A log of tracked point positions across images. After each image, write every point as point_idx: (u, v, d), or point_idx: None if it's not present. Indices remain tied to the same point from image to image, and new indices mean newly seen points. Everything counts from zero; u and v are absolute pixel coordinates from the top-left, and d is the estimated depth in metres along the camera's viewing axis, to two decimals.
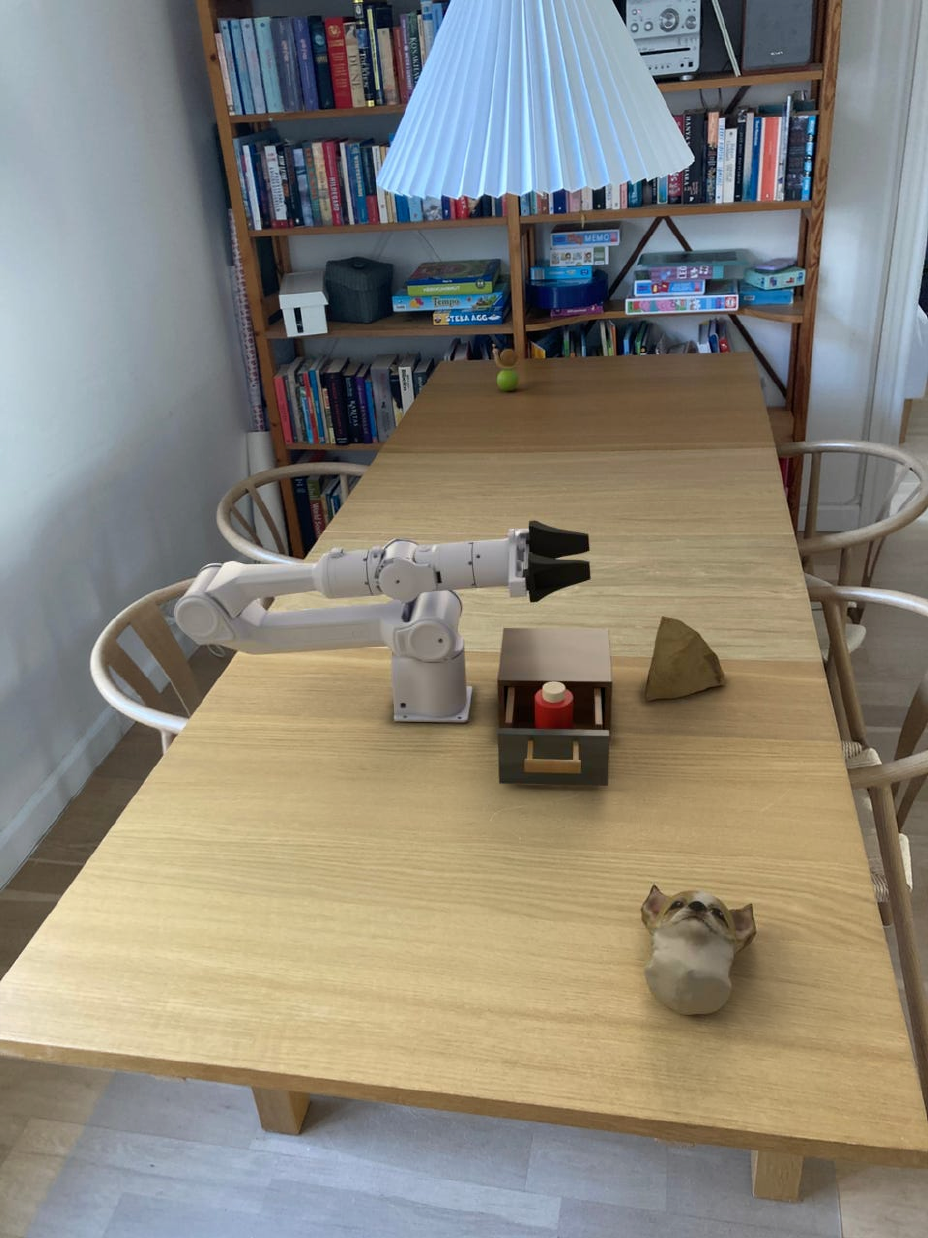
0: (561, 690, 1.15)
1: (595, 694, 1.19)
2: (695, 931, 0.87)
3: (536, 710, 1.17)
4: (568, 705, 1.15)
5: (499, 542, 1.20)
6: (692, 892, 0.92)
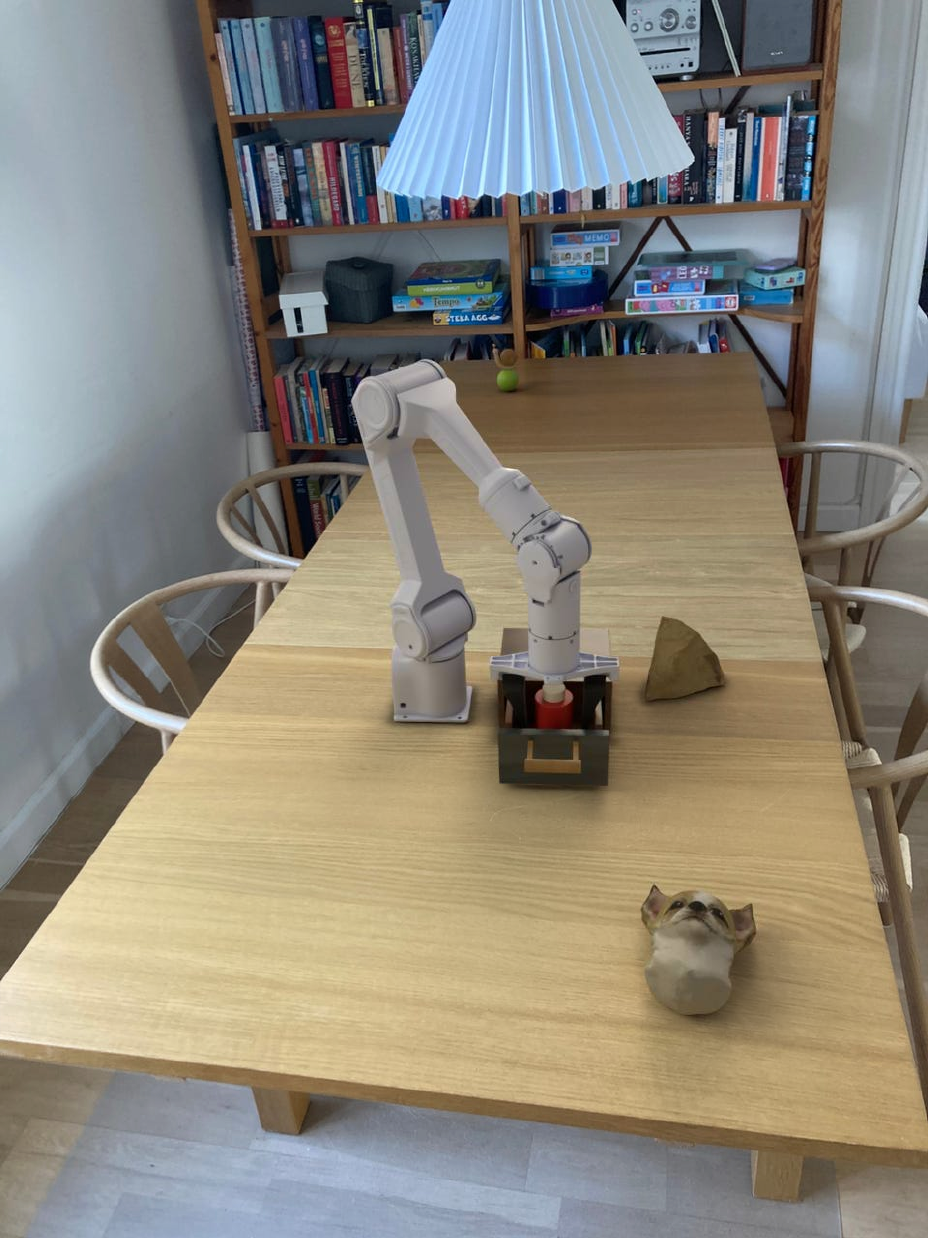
0: (561, 690, 1.15)
1: None
2: (695, 931, 0.87)
3: (536, 710, 1.17)
4: (568, 705, 1.15)
5: (549, 664, 1.11)
6: (692, 892, 0.92)
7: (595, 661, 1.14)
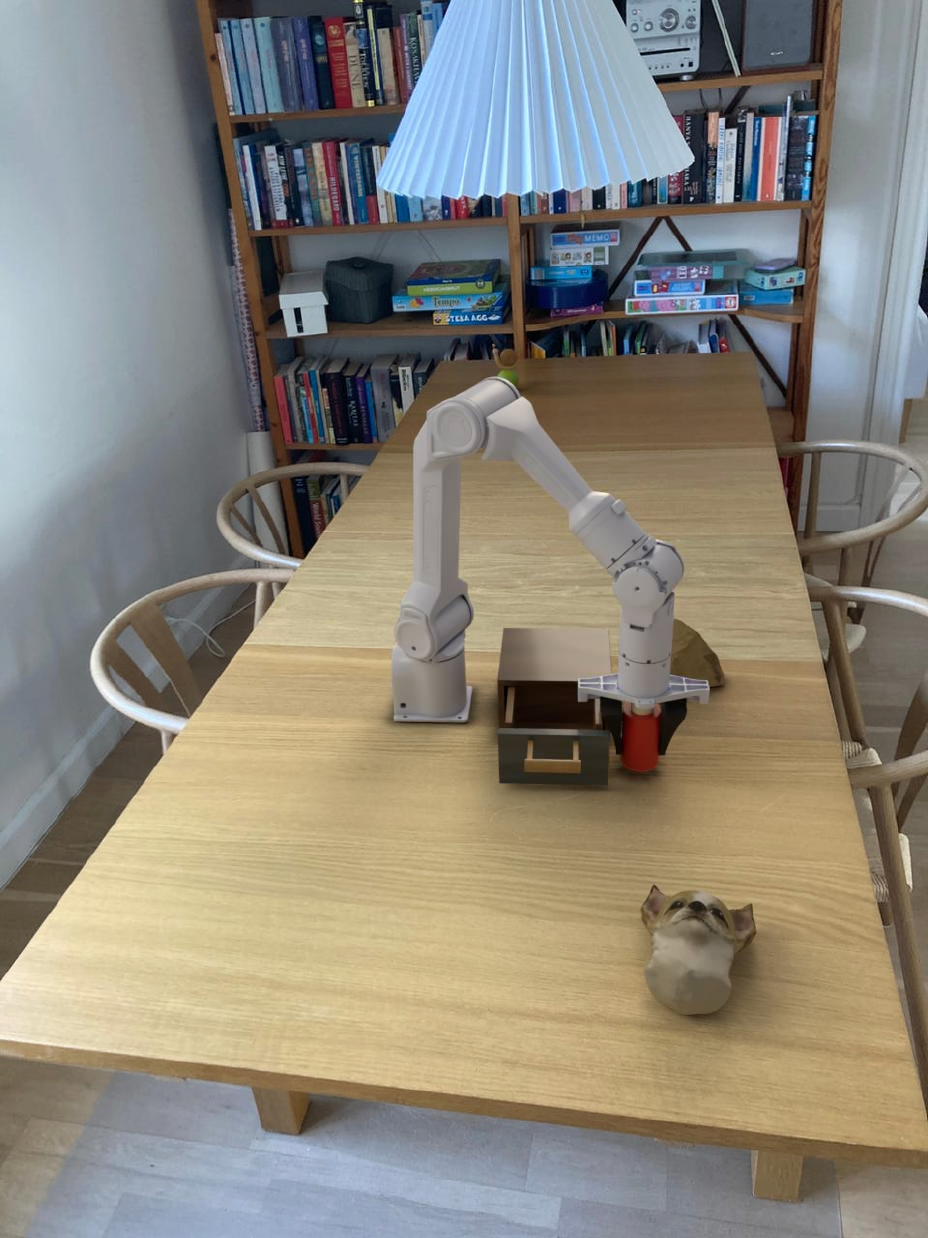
0: None
1: None
2: (695, 931, 0.87)
3: (624, 722, 1.15)
4: (657, 718, 1.14)
5: (641, 688, 1.11)
6: (692, 892, 0.92)
7: (685, 684, 1.13)
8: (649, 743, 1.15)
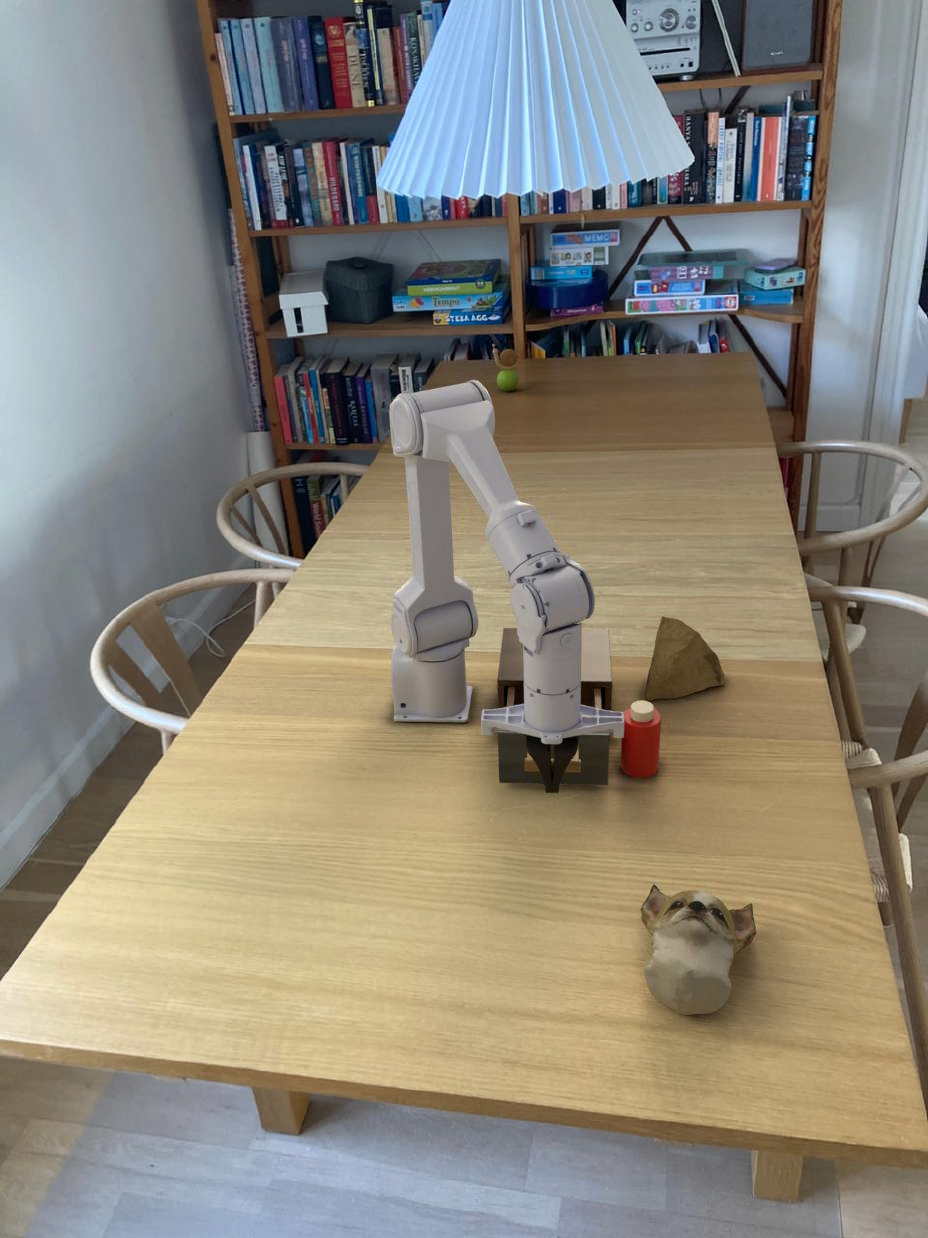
0: (650, 709, 1.15)
1: (595, 693, 1.19)
2: (695, 931, 0.87)
3: (624, 729, 1.16)
4: (657, 725, 1.14)
5: (547, 721, 1.01)
6: (692, 892, 0.92)
7: (597, 716, 1.03)
8: (649, 750, 1.16)
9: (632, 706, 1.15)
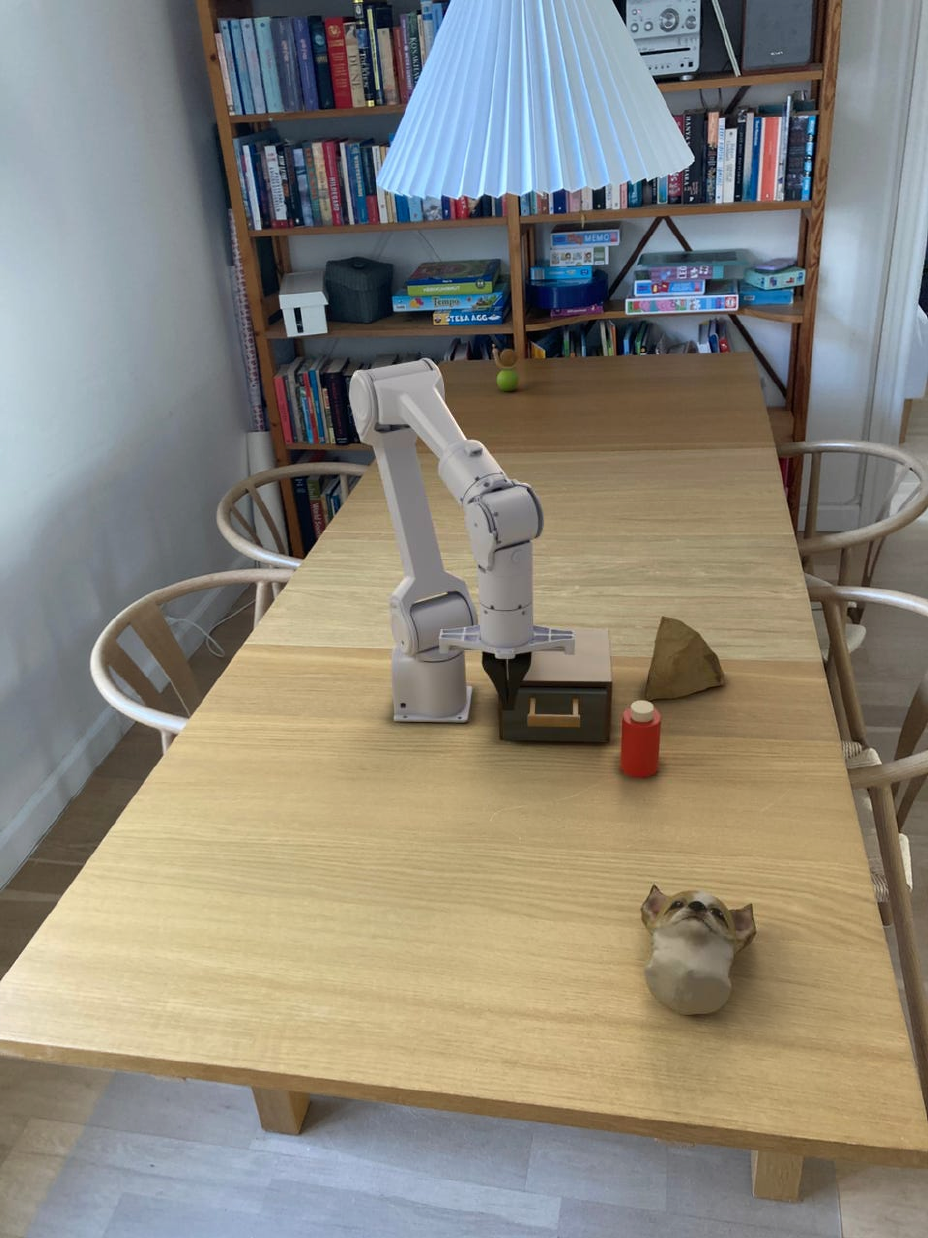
0: (650, 709, 1.15)
1: None
2: (695, 931, 0.87)
3: (624, 729, 1.16)
4: (657, 725, 1.14)
5: (500, 637, 1.06)
6: (692, 892, 0.92)
7: (550, 634, 1.08)
8: (649, 750, 1.16)
9: (632, 706, 1.15)
